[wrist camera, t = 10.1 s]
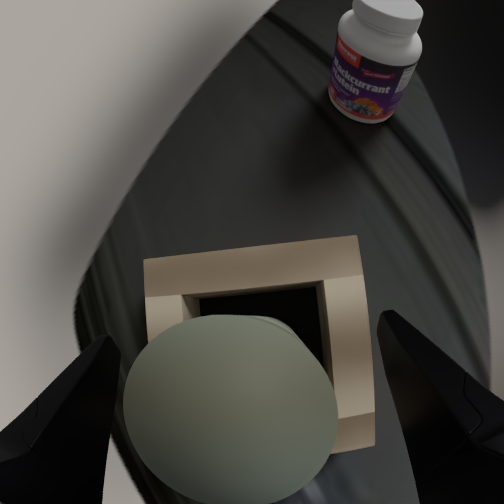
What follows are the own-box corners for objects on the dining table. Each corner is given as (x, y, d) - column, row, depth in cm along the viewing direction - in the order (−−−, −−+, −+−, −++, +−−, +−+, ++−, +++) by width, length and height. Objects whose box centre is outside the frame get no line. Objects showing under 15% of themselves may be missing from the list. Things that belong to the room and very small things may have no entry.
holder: (359, 424, 16) (374, 445, 12) (184, 438, 17) (165, 459, 13) (343, 249, 18) (356, 234, 15) (166, 269, 19) (143, 259, 16)
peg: (303, 384, 17) (340, 499, 5) (229, 390, 17) (143, 499, 5) (296, 312, 18) (329, 302, 6) (222, 319, 18) (113, 319, 6)
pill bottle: (314, 101, 21) (325, -5, 11) (346, 65, 21) (363, -29, 12) (378, 138, 20) (422, 39, 10) (403, 97, 20) (443, 8, 11)
